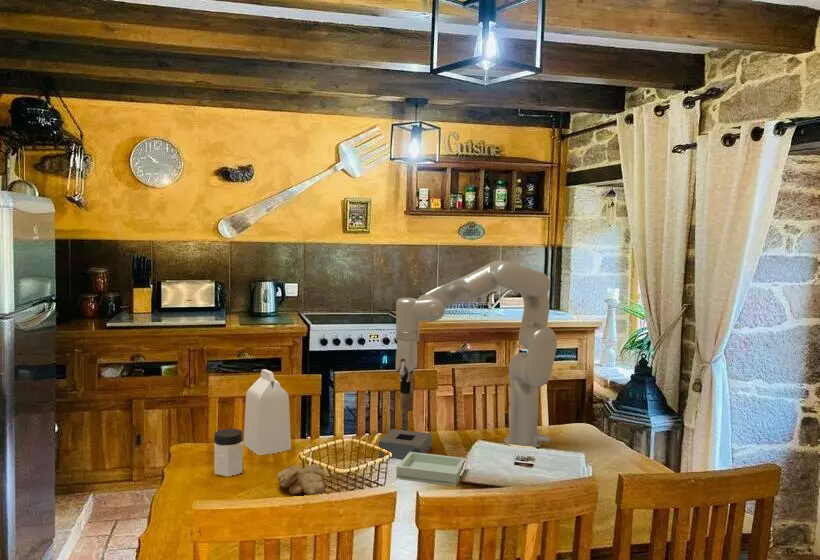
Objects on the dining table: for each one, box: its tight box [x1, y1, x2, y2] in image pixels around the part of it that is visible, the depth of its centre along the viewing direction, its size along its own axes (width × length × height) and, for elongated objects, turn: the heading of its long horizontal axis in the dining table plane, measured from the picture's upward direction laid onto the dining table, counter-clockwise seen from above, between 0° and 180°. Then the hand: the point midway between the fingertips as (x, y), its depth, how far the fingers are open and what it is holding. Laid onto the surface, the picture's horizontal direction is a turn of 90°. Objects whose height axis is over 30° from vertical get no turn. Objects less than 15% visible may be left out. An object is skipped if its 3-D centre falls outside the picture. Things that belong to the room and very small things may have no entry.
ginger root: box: [276, 463, 327, 496], centre depth 184 cm, size 16×16×8 cm
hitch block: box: [378, 428, 433, 460], centre depth 216 cm, size 14×14×5 cm
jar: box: [213, 428, 244, 477], centre depth 196 cm, size 9×8×12 cm
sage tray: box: [395, 452, 467, 487], centre depth 197 cm, size 18×14×4 cm
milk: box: [243, 368, 292, 456], centre depth 217 cm, size 12×12×26 cm
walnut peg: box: [400, 372, 415, 412], centre depth 215 cm, size 4×4×12 cm
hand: (407, 390), depth 215 cm, fingers closed on walnut peg, 4 cm apart
